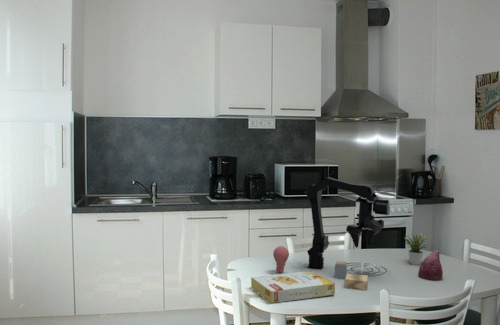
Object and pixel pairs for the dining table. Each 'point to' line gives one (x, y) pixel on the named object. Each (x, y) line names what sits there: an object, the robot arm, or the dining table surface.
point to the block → (356, 281)
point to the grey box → (340, 269)
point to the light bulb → (280, 257)
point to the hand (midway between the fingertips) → (363, 246)
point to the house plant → (415, 249)
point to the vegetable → (431, 267)
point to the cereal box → (292, 286)
